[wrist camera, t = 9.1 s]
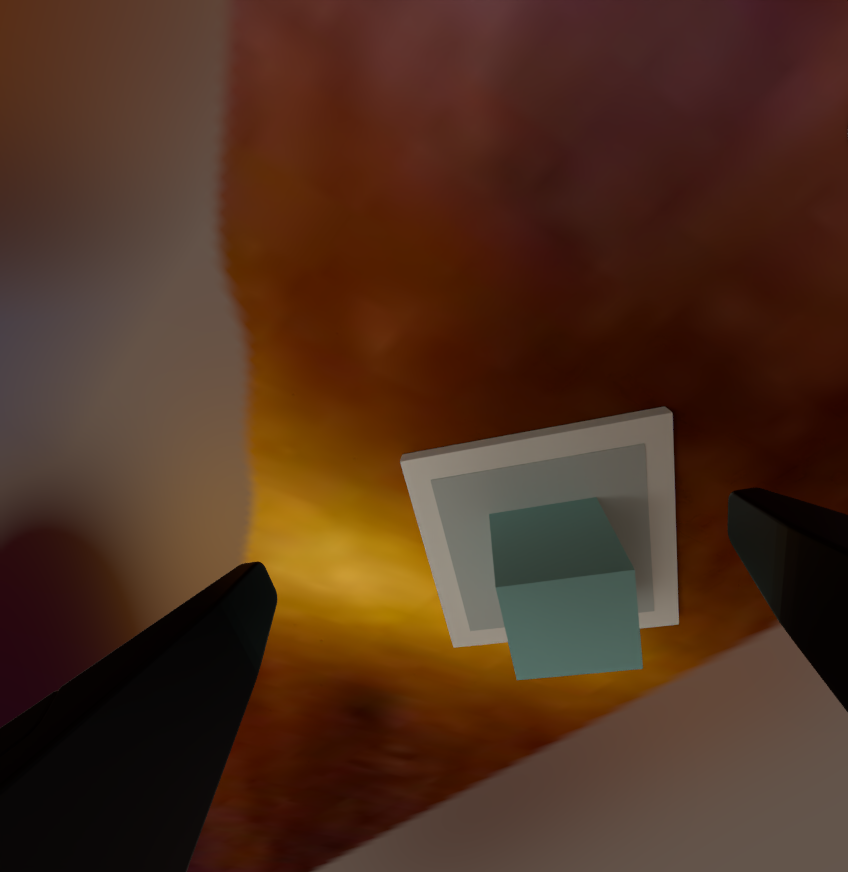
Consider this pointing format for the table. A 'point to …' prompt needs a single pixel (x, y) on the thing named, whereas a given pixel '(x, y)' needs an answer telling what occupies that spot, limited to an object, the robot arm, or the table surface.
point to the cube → (565, 590)
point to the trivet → (542, 485)
